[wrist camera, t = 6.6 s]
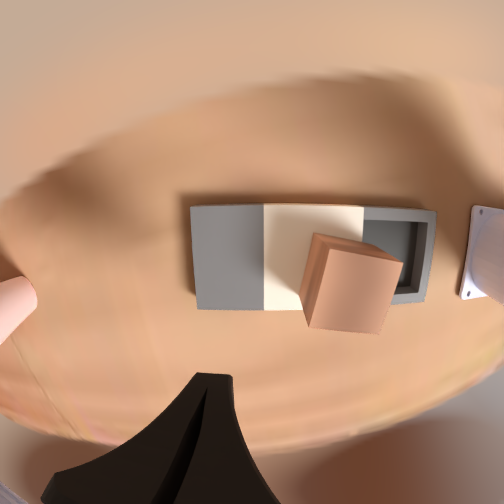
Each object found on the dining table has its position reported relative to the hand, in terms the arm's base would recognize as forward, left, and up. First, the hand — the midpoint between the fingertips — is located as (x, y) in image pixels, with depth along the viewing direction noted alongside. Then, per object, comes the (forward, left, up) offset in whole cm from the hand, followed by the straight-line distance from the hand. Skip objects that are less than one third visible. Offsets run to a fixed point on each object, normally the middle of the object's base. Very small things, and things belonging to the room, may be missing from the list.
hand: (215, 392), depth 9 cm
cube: (-6, -2, -8) cm, 10 cm away
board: (-6, -3, -9) cm, 11 cm away
